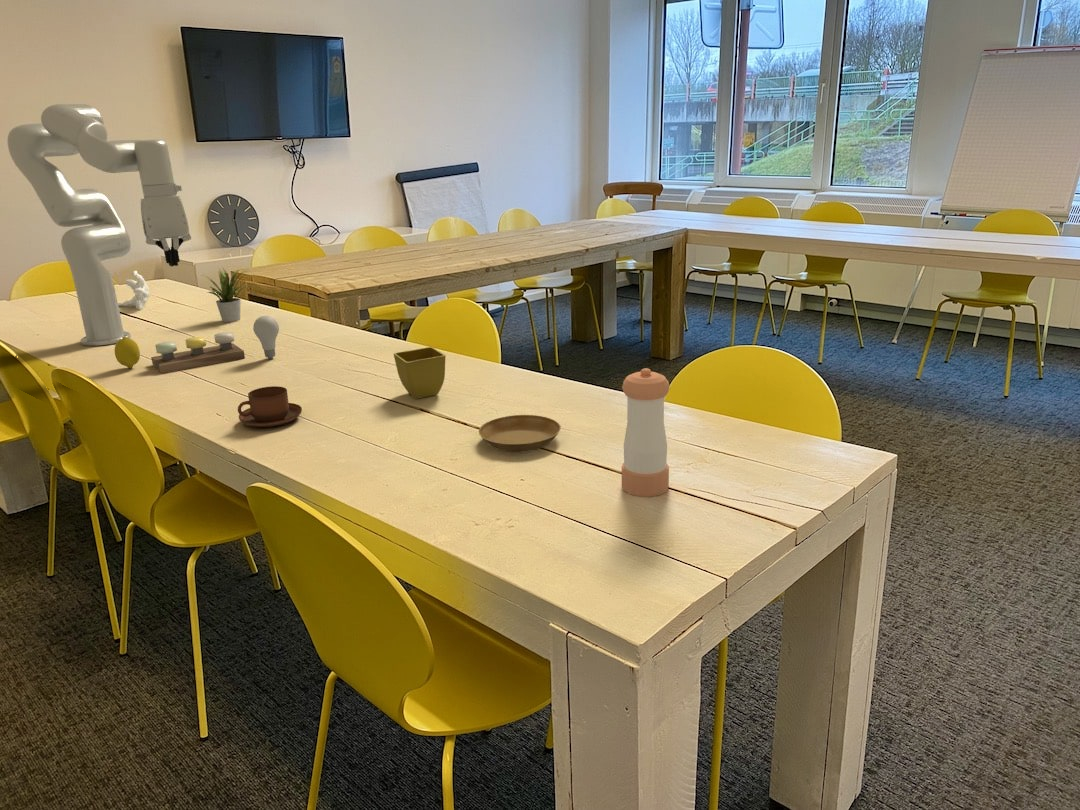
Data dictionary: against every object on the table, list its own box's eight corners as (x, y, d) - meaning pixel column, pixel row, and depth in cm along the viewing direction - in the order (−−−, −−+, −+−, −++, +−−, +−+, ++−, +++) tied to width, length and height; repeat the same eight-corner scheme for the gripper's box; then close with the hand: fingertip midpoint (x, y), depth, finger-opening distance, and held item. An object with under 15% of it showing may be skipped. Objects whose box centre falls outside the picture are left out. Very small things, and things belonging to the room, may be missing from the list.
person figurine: (103, 275, 276) (134, 268, 266) (139, 276, 287) (170, 270, 277) (107, 314, 277) (138, 309, 267) (142, 314, 287) (174, 309, 278)
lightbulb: (288, 356, 210) (282, 314, 206) (271, 362, 204) (265, 319, 201) (269, 354, 212) (263, 312, 209) (252, 360, 207) (246, 317, 203)
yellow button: (186, 355, 208) (183, 339, 207) (205, 352, 211) (202, 335, 209) (190, 359, 205) (187, 342, 203) (210, 356, 207) (207, 339, 206)
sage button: (156, 361, 204) (153, 343, 203) (176, 357, 207) (173, 340, 205) (160, 365, 201) (157, 347, 199) (180, 361, 203) (177, 344, 202)
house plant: (269, 317, 254) (261, 264, 248) (232, 327, 243) (223, 272, 237) (239, 313, 261) (230, 262, 256) (201, 322, 250) (192, 269, 245)
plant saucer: (496, 463, 140) (495, 449, 139) (468, 436, 153) (467, 422, 152) (574, 448, 145) (574, 434, 144) (541, 422, 158) (540, 409, 157)
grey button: (214, 350, 212) (212, 334, 210) (233, 347, 214) (230, 331, 213) (219, 354, 208) (216, 337, 207) (238, 351, 211) (235, 334, 209)
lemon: (133, 371, 201) (126, 339, 199) (113, 371, 202) (106, 339, 200) (147, 365, 206) (141, 334, 204) (128, 364, 207) (121, 333, 205)
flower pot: (409, 403, 171) (406, 362, 168) (396, 392, 178) (392, 352, 175) (449, 396, 174) (446, 355, 172) (434, 385, 182) (431, 346, 179)
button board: (152, 364, 207) (151, 357, 206) (233, 350, 217) (232, 343, 217) (161, 373, 199) (159, 365, 198) (244, 358, 209) (243, 350, 209)
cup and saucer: (268, 436, 156) (263, 405, 154) (227, 426, 162) (222, 396, 160) (315, 416, 166) (312, 387, 164) (274, 407, 172) (270, 379, 170)
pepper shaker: (616, 493, 126) (615, 374, 120) (628, 475, 133) (628, 360, 127) (662, 499, 124) (664, 377, 118) (673, 480, 130) (675, 363, 124)
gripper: (187, 189, 212) (200, 260, 218) (124, 194, 204) (139, 268, 210) (194, 189, 206) (207, 263, 212) (129, 195, 198) (145, 271, 204)
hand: (173, 265), depth 211 cm, fingers closed
